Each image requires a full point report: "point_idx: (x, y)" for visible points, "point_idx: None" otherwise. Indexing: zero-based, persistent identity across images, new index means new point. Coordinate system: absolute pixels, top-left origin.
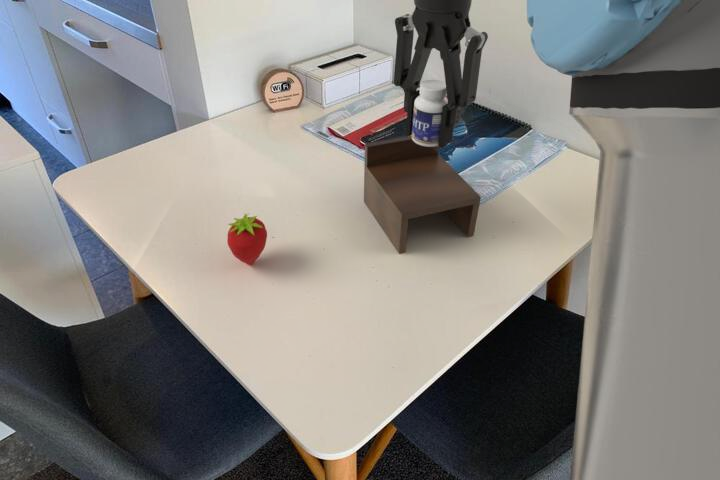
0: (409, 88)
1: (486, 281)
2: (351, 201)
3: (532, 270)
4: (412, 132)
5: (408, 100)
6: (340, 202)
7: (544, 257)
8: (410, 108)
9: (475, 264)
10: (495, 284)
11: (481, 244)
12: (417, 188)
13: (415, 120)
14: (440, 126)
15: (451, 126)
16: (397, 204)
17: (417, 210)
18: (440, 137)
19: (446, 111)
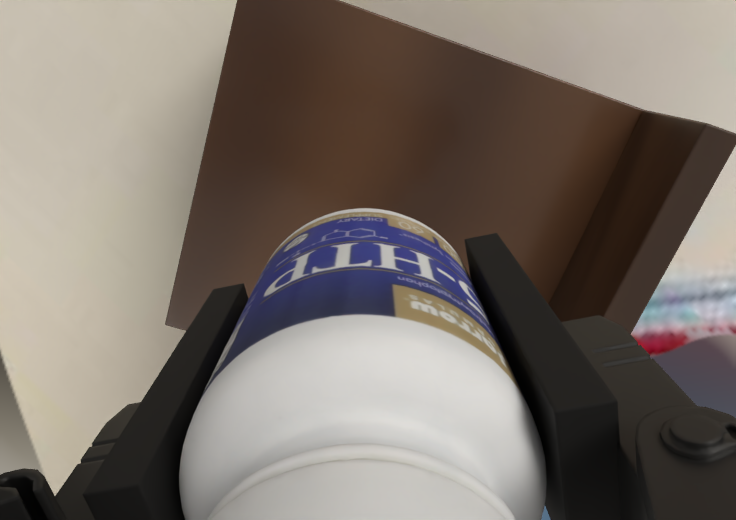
0: (663, 470)
1: (25, 127)
2: (623, 64)
3: (4, 268)
4: (427, 237)
5: (588, 365)
6: (650, 24)
7: (33, 335)
8: (529, 331)
9: (104, 160)
10: (2, 138)
11: (169, 245)
12: (358, 172)
13: (402, 267)
14: (207, 357)
15: (135, 408)
16: (317, 7)
17: (229, 50)
18: (215, 314)
19: (106, 463)
